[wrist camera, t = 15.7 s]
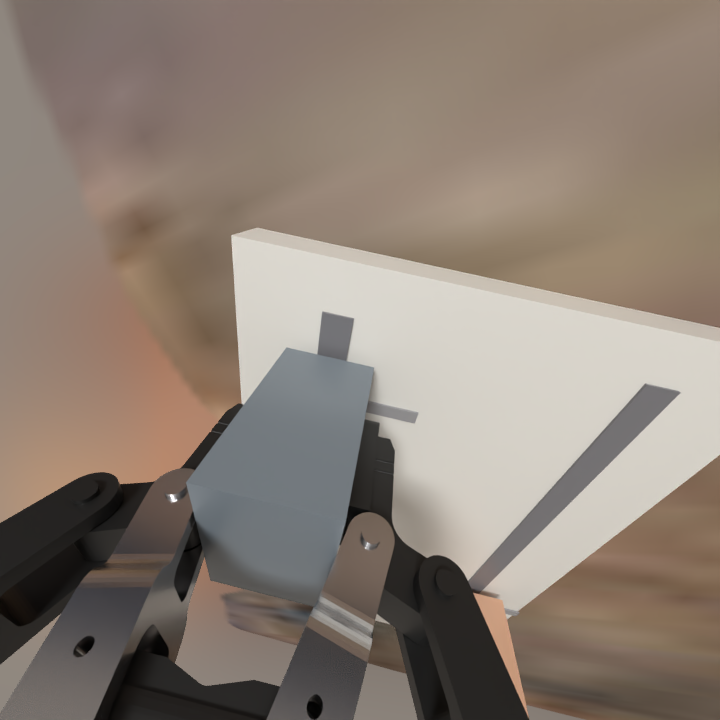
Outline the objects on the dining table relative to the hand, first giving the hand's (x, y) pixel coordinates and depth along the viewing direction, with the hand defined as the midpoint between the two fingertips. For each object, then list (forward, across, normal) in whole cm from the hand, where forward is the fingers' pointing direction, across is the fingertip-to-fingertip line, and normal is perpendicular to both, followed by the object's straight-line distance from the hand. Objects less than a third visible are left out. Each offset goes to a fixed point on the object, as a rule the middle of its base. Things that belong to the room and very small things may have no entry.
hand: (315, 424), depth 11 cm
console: (+4, -6, +9) cm, 11 cm away
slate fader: (+1, 0, 0) cm, 1 cm away
